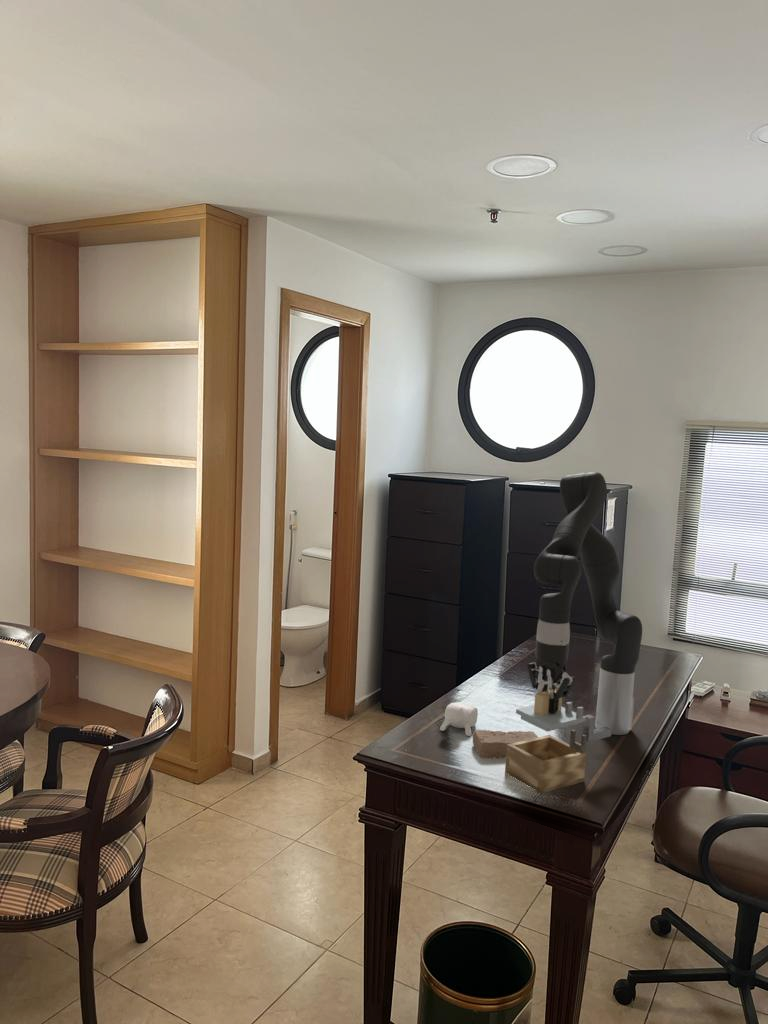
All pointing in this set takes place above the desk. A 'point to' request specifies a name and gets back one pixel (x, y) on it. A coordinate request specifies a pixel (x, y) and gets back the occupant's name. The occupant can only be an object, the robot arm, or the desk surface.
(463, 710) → the white animal figurine
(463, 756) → the desk surface
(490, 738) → the brick
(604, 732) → the grey angled block
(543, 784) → the wooden box
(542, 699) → the lid
